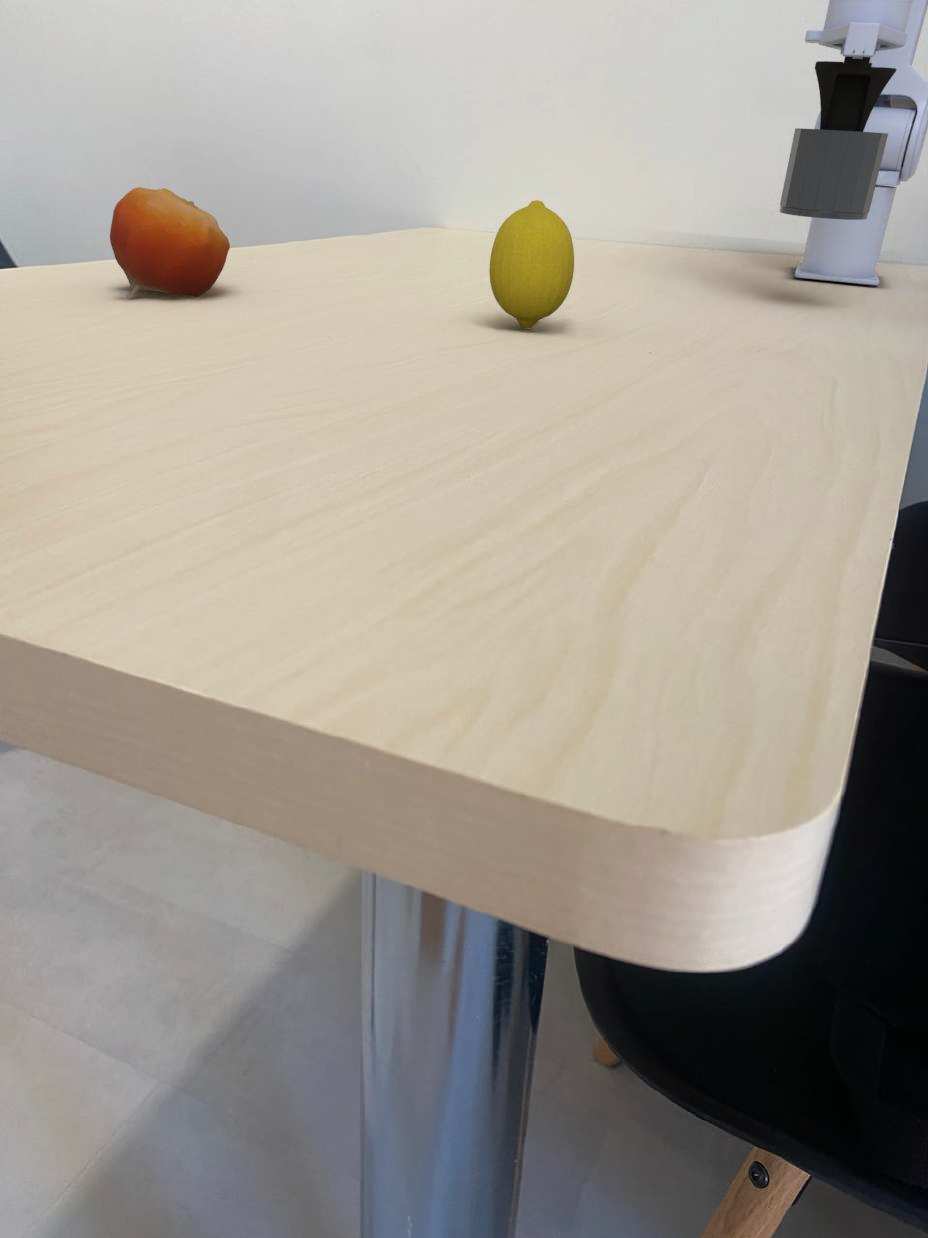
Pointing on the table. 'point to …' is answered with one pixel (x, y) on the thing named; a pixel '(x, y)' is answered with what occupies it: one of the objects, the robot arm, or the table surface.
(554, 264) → the lemon
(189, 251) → the fruit
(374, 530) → the table surface
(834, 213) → the tumbler
